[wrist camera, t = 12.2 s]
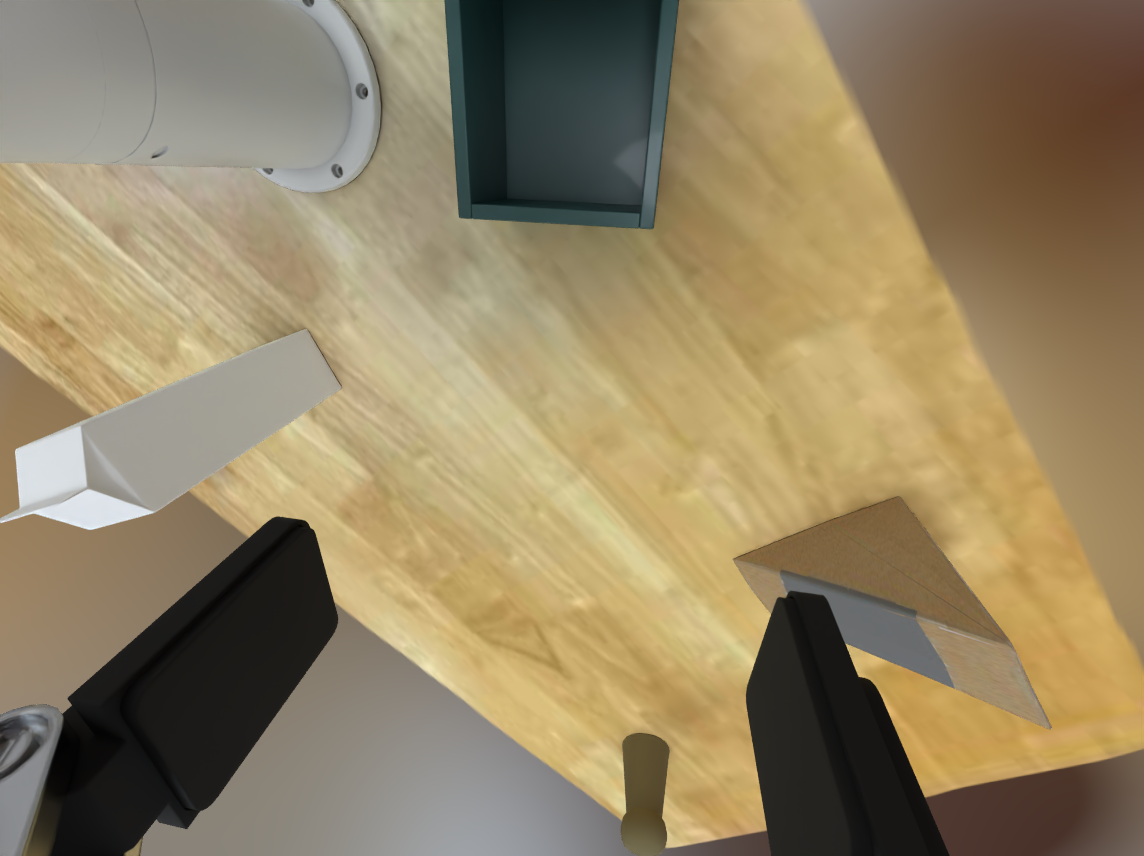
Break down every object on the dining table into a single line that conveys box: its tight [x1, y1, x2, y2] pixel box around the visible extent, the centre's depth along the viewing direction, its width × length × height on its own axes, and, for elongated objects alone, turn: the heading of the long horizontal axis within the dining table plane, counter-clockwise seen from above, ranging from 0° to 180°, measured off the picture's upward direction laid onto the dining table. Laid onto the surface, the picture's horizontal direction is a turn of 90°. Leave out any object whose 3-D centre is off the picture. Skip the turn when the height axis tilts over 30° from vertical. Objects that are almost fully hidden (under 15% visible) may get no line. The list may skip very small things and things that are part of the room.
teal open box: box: [445, 0, 679, 229], centre depth 27 cm, size 14×11×8 cm
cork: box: [621, 734, 669, 856], centre depth 58 cm, size 6×6×11 cm
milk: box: [0, 329, 341, 530], centre depth 34 cm, size 6×6×22 cm
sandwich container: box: [733, 497, 1052, 730], centre depth 38 cm, size 9×15×15 cm, turn 126°
